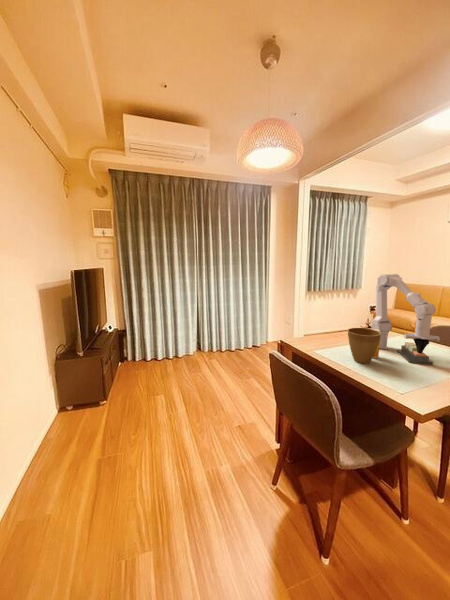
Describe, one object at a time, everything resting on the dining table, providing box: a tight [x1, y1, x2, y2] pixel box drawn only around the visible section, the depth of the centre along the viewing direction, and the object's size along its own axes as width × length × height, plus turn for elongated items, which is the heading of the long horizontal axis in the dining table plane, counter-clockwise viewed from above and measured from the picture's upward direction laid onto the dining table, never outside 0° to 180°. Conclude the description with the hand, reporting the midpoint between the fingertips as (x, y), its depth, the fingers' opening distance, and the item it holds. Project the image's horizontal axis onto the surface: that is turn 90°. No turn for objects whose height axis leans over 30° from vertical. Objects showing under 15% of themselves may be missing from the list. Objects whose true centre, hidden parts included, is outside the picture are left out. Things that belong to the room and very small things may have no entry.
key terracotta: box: [413, 351, 427, 357], centre depth 125 cm, size 4×4×3 cm
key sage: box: [408, 345, 417, 352], centre depth 130 cm, size 4×4×3 cm
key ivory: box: [404, 342, 416, 349], centre depth 135 cm, size 4×4×3 cm
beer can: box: [371, 328, 381, 359], centre depth 132 cm, size 6×6×15 cm
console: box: [396, 344, 434, 366], centre depth 131 cm, size 10×16×4 cm, turn 164°
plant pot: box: [347, 327, 381, 365], centre depth 126 cm, size 15×15×16 cm
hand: (419, 352), depth 125 cm, fingers closed, pressing on key terracotta
